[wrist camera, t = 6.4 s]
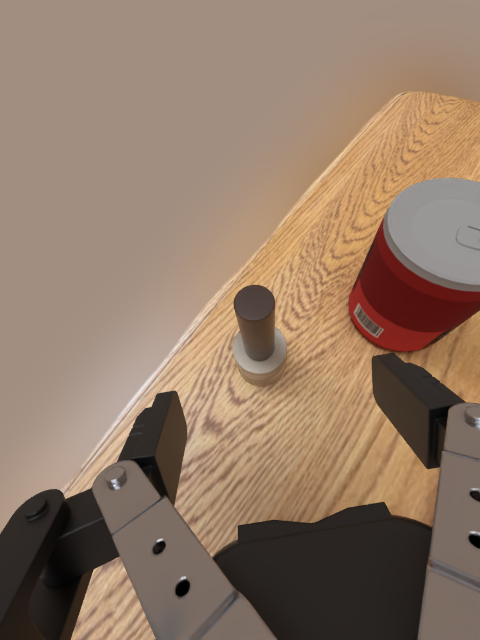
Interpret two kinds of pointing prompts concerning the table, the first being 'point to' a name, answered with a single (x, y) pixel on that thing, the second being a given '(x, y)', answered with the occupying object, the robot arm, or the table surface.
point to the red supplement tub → (421, 267)
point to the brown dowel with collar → (258, 337)
